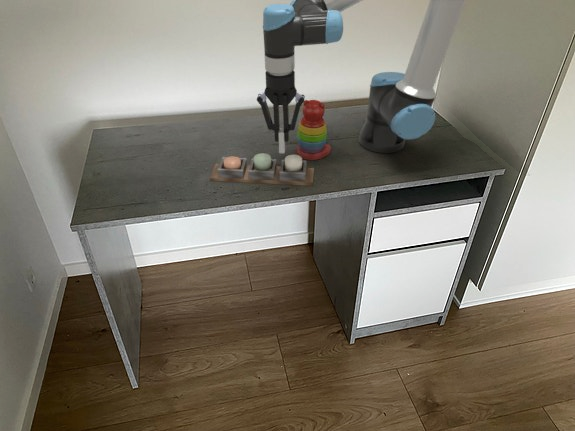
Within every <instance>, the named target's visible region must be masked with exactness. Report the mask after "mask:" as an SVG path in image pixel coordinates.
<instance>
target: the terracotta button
mask: <svg viewBox="0 0 575 431" xmlns="http://www.w3.org/2000/svg"><path fill="white" fill-rule="evenodd" d="M226 157H227V158H225V159H224V169H238V170H241V160H240V158H241V157H238V156H232V155H231V156H226Z"/></svg>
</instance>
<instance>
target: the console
mask: <svg viewBox="0 0 575 431" xmlns="http://www.w3.org/2000/svg"><path fill="white" fill-rule="evenodd" d="M227 157H228V156H222V157H221V160H220V162H219V163H215V164H214V167H213V169H212V171H211V175H210V181H213V182H228V183H229V182H230V183H231V182H232V183H233V182H234V183H250V184H251V183H252V184H253V183H254V184H270V185H275V184H276V185H293V186H310V187H311V186H314V176H315V175H314V174H315V167H307V160H302V169H301V171H299V172H288V171H286V170H285V159H281V162H280V166H279V165H277V159H276V158H274V159H273V158H271V168H270V169H269V170H267V171H259V170H256V169H255V168H254V157H253V158H251V160H250V164H248V159H247V157H239V158H240V160H241V170H238V169H224V159H225V158H227Z"/></svg>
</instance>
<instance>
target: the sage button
mask: <svg viewBox="0 0 575 431" xmlns="http://www.w3.org/2000/svg"><path fill="white" fill-rule="evenodd" d="M253 158H254V168H255V169H256V170H259V171H267V170H269V169H270V168H271V159H272V156H271V155H270V154H268V153H263V152H262V153H257V154H255V155H254V156H253Z"/></svg>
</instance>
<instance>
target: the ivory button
mask: <svg viewBox="0 0 575 431" xmlns="http://www.w3.org/2000/svg"><path fill="white" fill-rule="evenodd" d="M284 160H285V170H286V171H288V172H299V171H301V169H302V161H303V158H301V157H300V156H299V155H298V154H290V155H289V154H288V155H286V156H285V157H284Z"/></svg>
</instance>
